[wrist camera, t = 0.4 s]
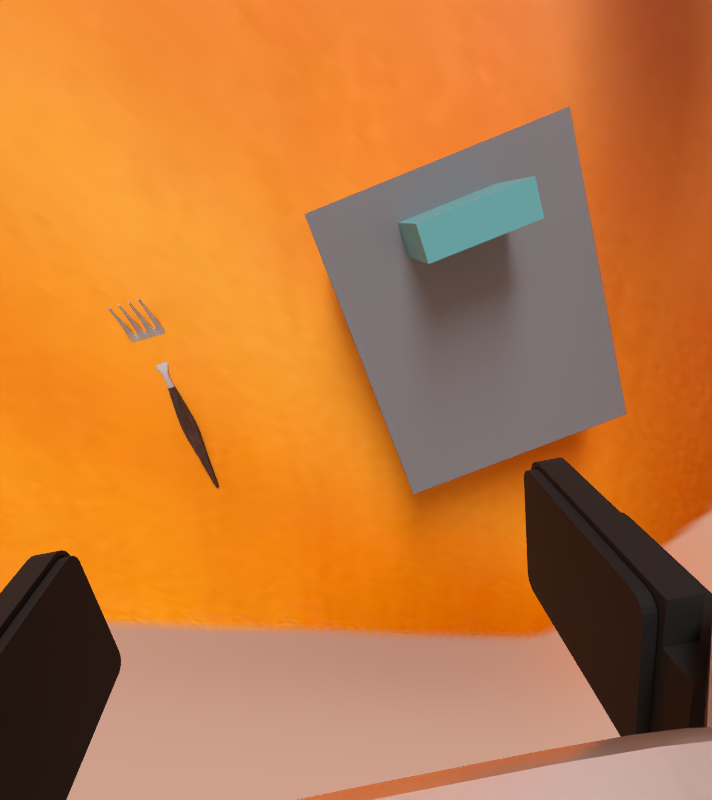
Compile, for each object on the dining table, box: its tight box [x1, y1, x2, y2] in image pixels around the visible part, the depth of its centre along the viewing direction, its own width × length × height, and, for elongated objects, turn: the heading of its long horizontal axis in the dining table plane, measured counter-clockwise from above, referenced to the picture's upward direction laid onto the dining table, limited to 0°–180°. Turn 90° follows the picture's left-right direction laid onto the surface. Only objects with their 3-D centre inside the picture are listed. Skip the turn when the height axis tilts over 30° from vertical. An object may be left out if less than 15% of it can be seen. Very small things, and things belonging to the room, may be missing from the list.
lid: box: [305, 107, 626, 494], centre depth 29 cm, size 16×20×7 cm
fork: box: [108, 298, 219, 487], centre depth 37 cm, size 3×16×2 cm, turn 17°
